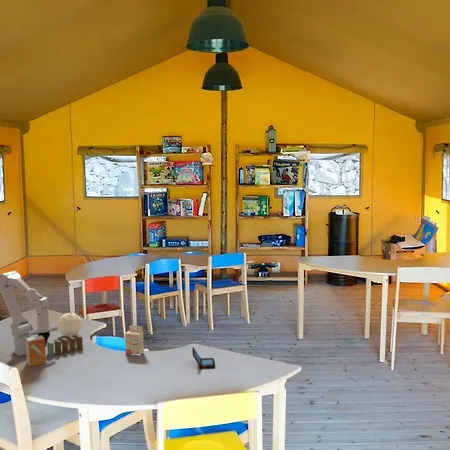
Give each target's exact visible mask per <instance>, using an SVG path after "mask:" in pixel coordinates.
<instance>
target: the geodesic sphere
mask: <svg viewBox="0 0 450 450" xmlns="http://www.w3.org/2000/svg"><path fill="white" fill-rule="evenodd" d="M57 321H58V323H57V325H56V326H57V327H58V331H59V334H61V335H63V336H65V338H69V337H70V336H72V337H76V335H78V333H80V332H81V330H82V328H83V327H82V326H83V321H82V318H81V317H80V315H78V312H77V311H76V312H65V313H64V314H63V315H62V316H61V317H59V318H58V320H57Z"/></svg>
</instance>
